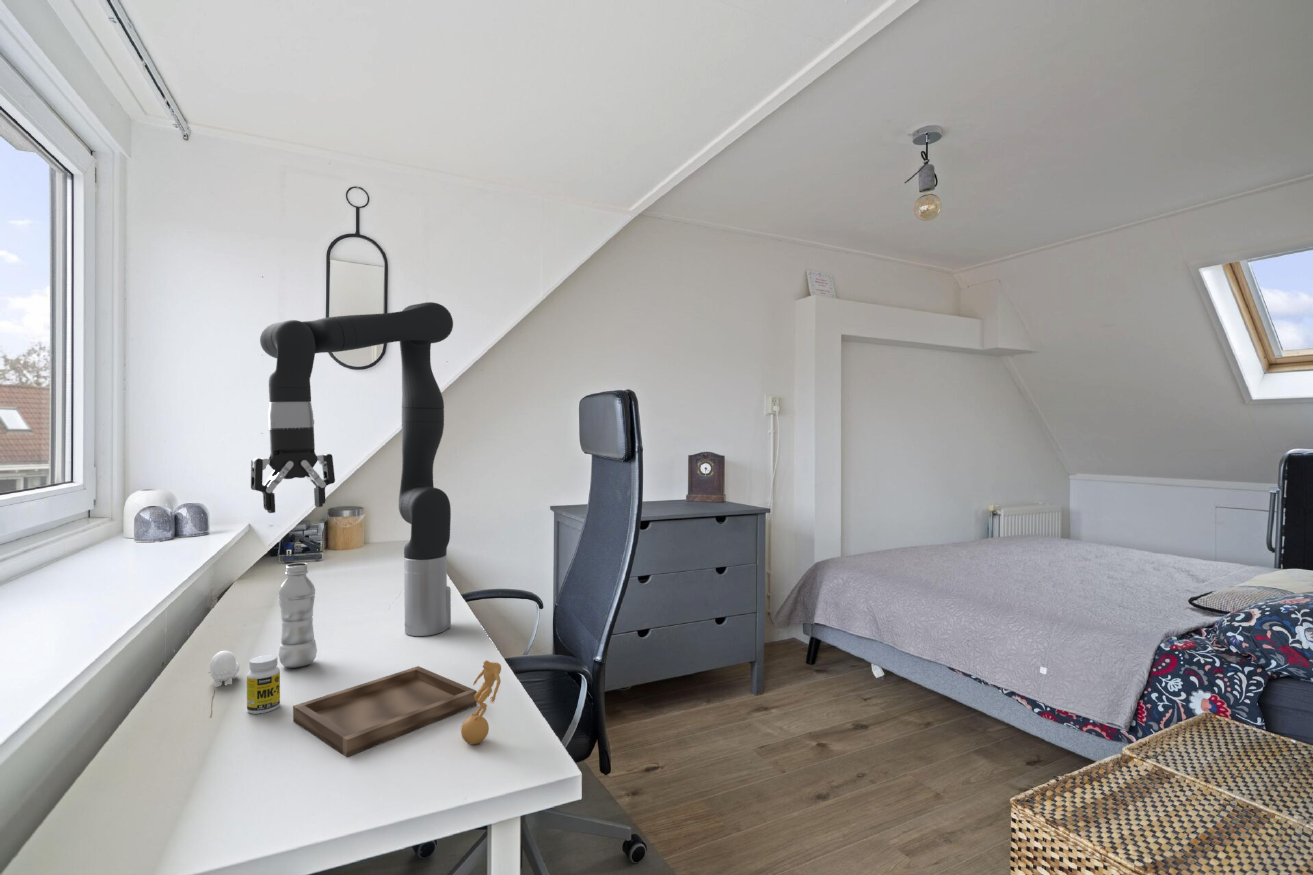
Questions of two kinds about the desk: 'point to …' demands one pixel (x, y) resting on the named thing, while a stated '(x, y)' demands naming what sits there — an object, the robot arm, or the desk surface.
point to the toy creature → (223, 667)
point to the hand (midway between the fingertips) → (295, 509)
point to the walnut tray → (382, 709)
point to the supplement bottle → (263, 684)
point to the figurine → (481, 705)
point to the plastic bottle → (297, 617)
